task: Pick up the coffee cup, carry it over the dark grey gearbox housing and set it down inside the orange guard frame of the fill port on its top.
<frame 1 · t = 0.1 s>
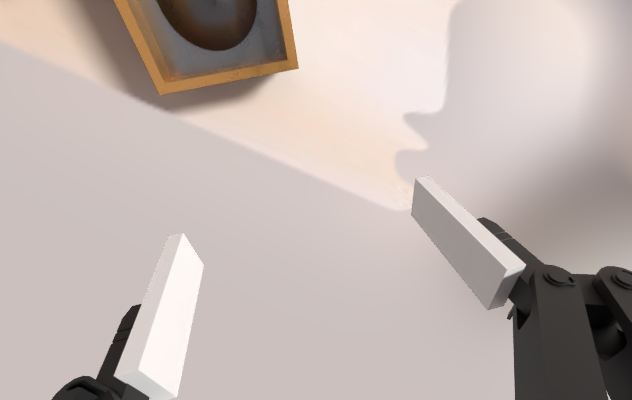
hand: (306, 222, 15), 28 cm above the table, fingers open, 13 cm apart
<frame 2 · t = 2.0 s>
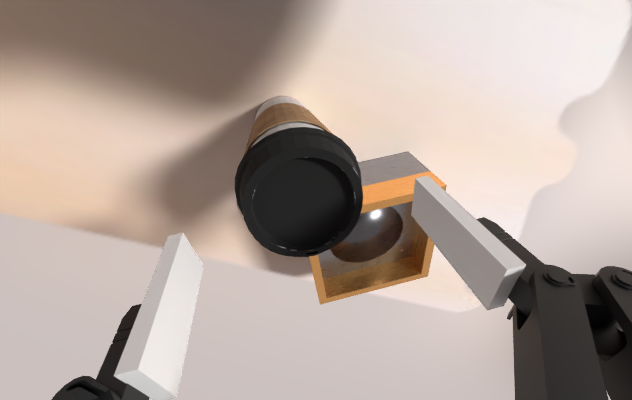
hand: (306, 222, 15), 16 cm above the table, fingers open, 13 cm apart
coffee cup: (283, 124, 27), on the table
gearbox: (353, 210, 36), on the table
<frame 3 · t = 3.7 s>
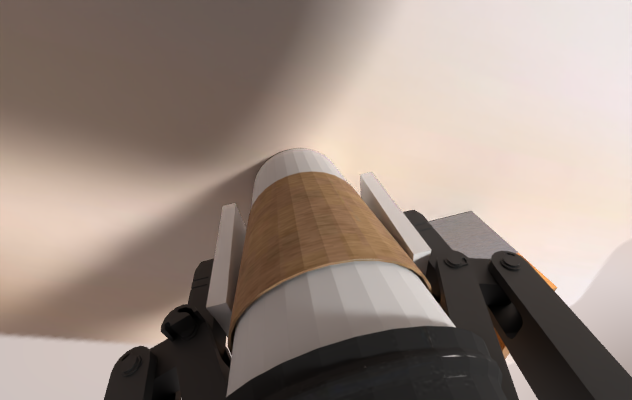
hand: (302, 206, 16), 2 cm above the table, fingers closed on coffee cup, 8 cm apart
coffee cup: (297, 186, 18), on the table, touching gripper
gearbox: (388, 282, 27), on the table
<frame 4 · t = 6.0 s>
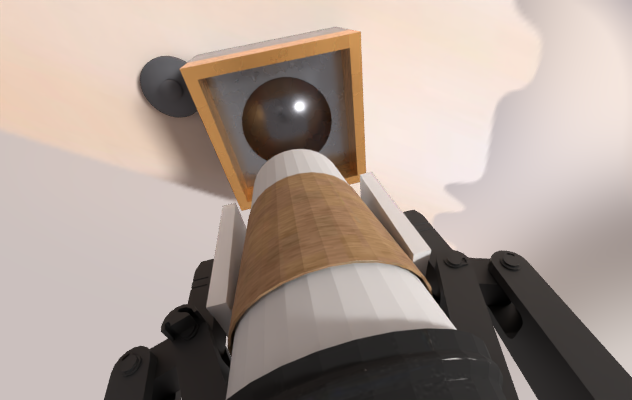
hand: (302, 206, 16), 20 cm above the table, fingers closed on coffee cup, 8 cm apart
coffee cup: (297, 186, 18), point 17 cm above the table, touching gripper
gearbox: (283, 110, 32), on the table
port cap: (175, 86, 28), on the table
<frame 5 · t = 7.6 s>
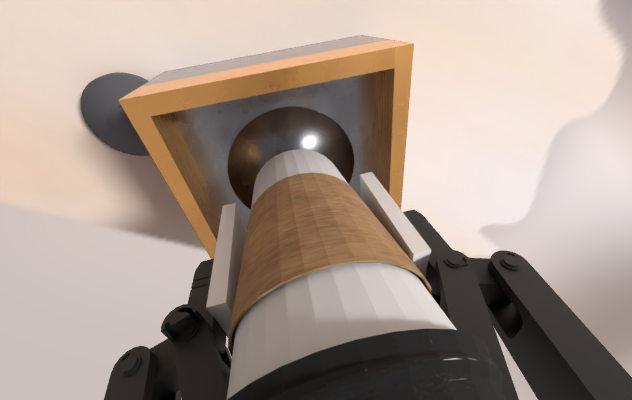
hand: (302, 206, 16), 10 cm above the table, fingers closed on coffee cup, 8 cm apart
coffee cup: (297, 186, 18), point 7 cm above the table, touching gripper
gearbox: (286, 144, 24), on the table
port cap: (136, 114, 20), on the table
when the fingers open (10 cm above the table, at t = 8.3 s): coffee cup drops 2 cm, resting on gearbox.
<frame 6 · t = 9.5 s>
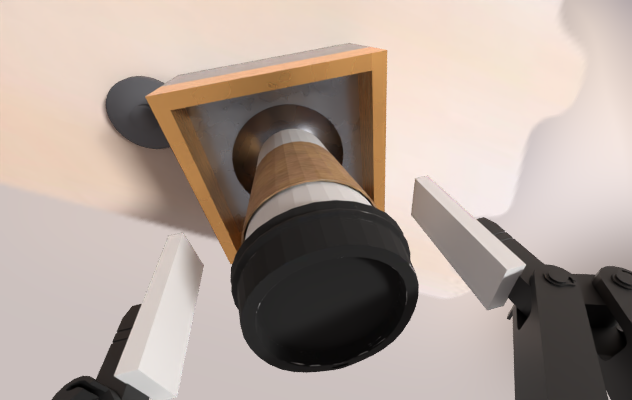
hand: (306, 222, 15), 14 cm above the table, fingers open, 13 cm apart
coffee cup: (292, 160, 22), point 5 cm above the table, touching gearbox
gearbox: (284, 140, 26), on the table
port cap: (152, 112, 23), on the table
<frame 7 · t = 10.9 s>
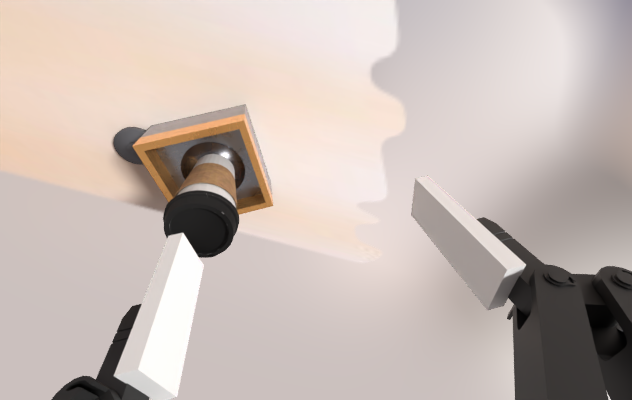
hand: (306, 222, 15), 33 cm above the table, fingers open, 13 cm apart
coffee cup: (215, 170, 41), point 5 cm above the table, touching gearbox
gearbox: (217, 156, 45), on the table
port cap: (138, 144, 42), on the table
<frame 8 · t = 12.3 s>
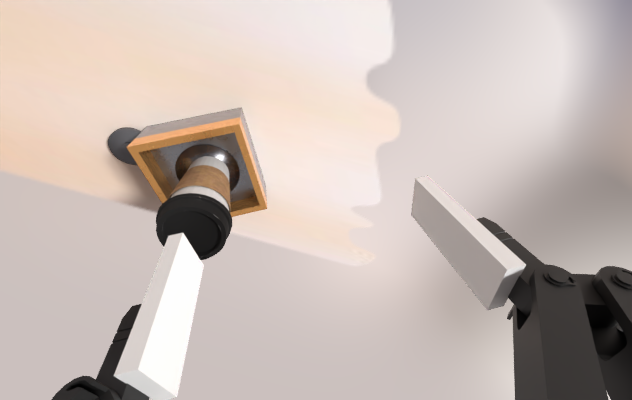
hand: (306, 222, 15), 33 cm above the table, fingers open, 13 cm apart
coffee cup: (210, 172, 41), point 5 cm above the table, touching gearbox
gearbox: (212, 158, 45), on the table
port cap: (133, 144, 42), on the table
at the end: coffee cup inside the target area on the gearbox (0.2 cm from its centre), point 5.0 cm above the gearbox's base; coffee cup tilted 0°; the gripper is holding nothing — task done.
